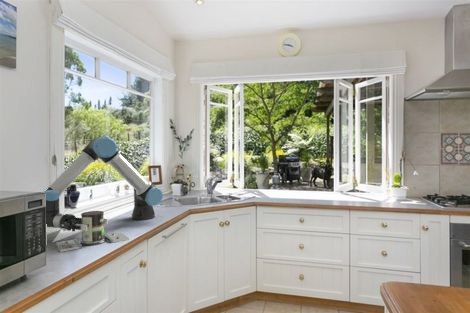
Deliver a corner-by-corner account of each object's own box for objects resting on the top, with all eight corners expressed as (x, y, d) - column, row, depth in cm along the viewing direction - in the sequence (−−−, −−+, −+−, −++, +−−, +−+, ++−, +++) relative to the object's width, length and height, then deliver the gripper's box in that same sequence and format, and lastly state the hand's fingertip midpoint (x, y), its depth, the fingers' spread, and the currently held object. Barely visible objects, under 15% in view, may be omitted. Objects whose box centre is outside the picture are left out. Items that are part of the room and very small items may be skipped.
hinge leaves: (120, 233, 173) (120, 231, 173) (128, 239, 161) (128, 236, 161) (55, 244, 154) (55, 241, 154) (60, 251, 143) (60, 248, 143)
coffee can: (105, 237, 164) (104, 210, 164) (103, 242, 154) (102, 214, 154) (83, 238, 161) (83, 211, 161) (79, 244, 151) (79, 215, 151)
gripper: (84, 223, 176) (115, 226, 168) (43, 234, 152) (77, 238, 145) (84, 209, 175) (115, 212, 168) (43, 219, 152) (76, 222, 145)
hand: (97, 224), depth 156 cm, fingers open, 13 cm apart
